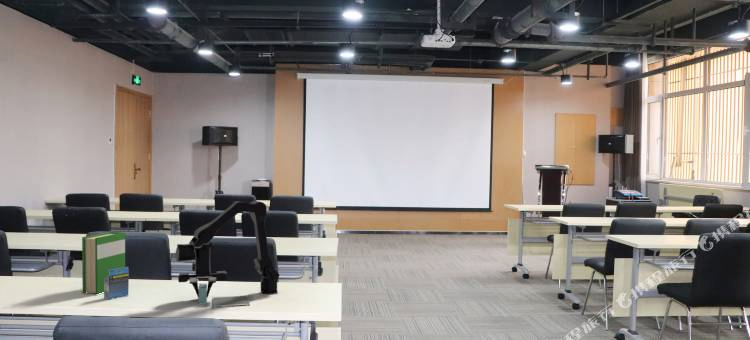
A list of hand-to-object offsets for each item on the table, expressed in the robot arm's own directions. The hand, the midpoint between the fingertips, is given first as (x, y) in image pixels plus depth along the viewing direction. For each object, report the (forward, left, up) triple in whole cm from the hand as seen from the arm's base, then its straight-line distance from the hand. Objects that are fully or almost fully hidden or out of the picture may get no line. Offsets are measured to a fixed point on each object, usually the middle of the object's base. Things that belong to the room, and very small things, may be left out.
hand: (202, 297), depth 240 cm
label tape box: (+35, -14, -2) cm, 37 cm away
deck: (0, 0, -1) cm, 1 cm away
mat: (-11, +5, -1) cm, 12 cm away
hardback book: (+42, -29, -2) cm, 51 cm away
